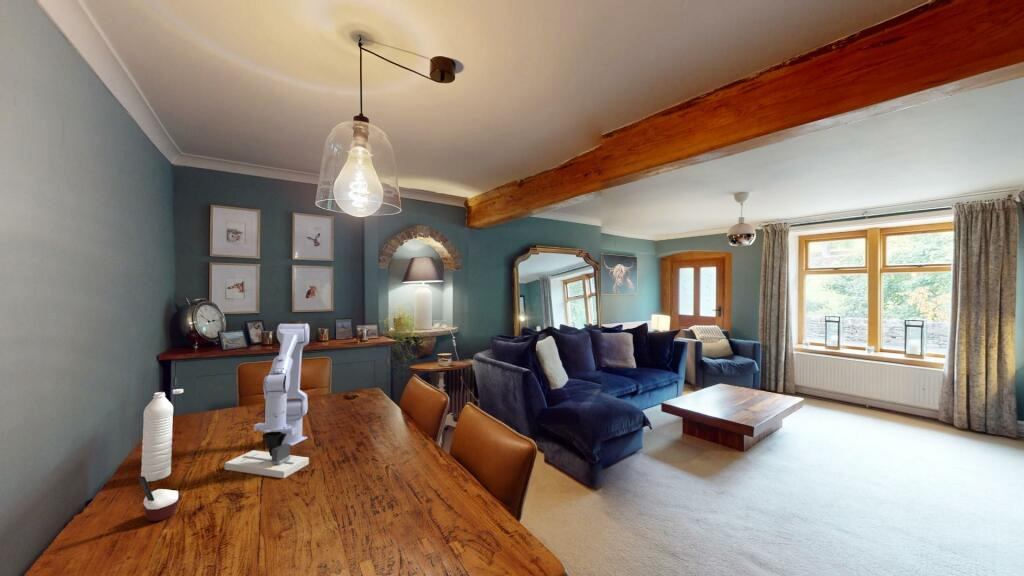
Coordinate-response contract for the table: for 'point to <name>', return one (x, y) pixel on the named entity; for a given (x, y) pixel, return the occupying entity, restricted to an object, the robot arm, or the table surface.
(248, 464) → the fader console
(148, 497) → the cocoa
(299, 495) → the table surface
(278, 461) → the fader tab
